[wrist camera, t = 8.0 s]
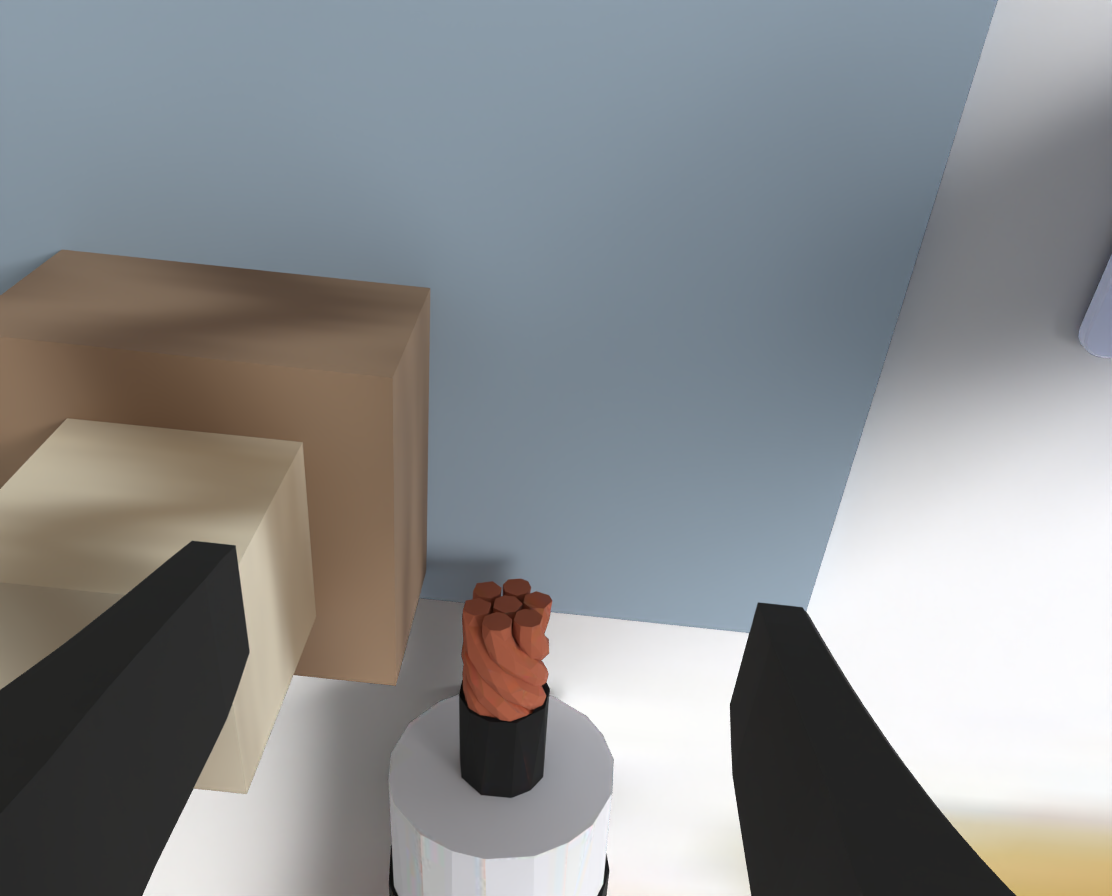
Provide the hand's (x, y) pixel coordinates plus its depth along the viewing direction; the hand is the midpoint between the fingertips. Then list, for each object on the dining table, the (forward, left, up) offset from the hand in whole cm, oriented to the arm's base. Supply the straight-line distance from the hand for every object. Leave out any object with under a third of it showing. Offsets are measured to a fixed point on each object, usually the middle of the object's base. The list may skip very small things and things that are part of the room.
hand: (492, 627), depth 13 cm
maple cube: (+6, +3, -5) cm, 9 cm away
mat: (+3, -2, -10) cm, 11 cm away
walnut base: (+6, +3, -9) cm, 12 cm away
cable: (-1, +23, -10) cm, 25 cm away
